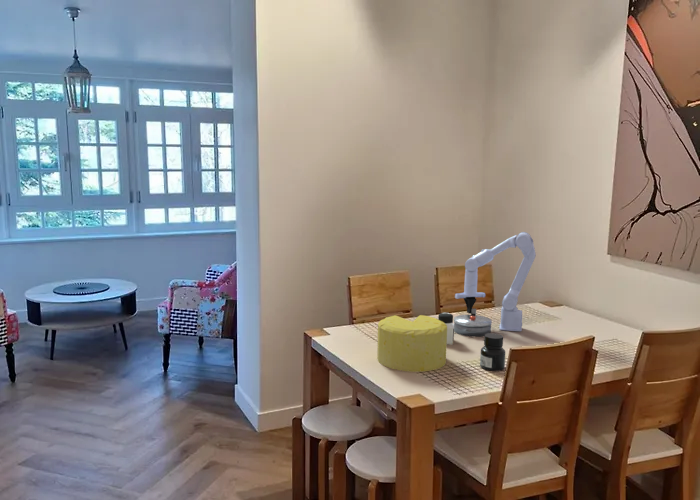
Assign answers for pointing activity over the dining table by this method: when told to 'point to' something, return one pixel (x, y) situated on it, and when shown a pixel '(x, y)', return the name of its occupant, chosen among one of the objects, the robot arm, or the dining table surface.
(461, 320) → the cooker lid
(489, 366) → the ink bottle
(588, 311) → the dining table surface
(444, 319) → the medicine bottle
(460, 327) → the cooker pot
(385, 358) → the cheese
